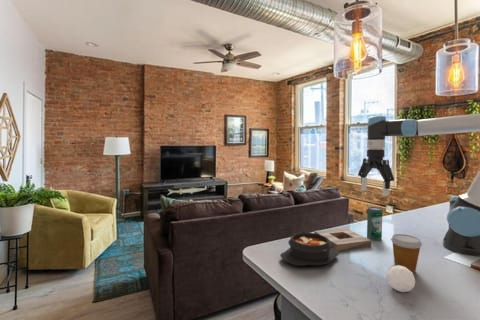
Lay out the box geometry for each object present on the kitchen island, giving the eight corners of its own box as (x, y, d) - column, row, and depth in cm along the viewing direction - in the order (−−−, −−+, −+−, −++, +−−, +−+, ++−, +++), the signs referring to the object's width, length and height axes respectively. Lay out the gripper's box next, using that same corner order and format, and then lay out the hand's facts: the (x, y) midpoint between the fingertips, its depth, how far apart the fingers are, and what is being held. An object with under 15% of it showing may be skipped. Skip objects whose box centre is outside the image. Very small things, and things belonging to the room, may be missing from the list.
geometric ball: (396, 300, 82) (382, 281, 81) (393, 280, 89) (380, 262, 88) (422, 296, 78) (408, 276, 77) (417, 275, 84) (404, 257, 84)
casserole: (301, 276, 92) (301, 253, 91) (270, 256, 108) (271, 236, 107) (349, 261, 103) (350, 240, 103) (315, 245, 120) (316, 227, 119)
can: (375, 241, 123) (376, 210, 122) (364, 237, 129) (365, 207, 128) (383, 239, 126) (384, 209, 125) (372, 235, 131) (373, 206, 130)
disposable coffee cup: (425, 277, 90) (427, 243, 90) (395, 274, 92) (397, 241, 92) (413, 265, 100) (414, 234, 99) (386, 262, 102) (387, 232, 101)
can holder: (371, 246, 117) (371, 240, 117) (336, 251, 112) (336, 244, 112) (345, 233, 135) (345, 227, 134) (314, 236, 130) (314, 231, 130)
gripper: (351, 148, 135) (350, 188, 137) (390, 149, 111) (388, 198, 113) (363, 148, 137) (362, 188, 139) (404, 149, 113) (402, 197, 115)
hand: (374, 193), depth 126 cm, fingers open, 13 cm apart
